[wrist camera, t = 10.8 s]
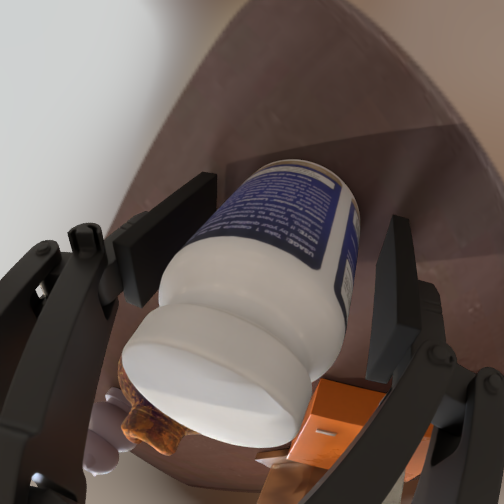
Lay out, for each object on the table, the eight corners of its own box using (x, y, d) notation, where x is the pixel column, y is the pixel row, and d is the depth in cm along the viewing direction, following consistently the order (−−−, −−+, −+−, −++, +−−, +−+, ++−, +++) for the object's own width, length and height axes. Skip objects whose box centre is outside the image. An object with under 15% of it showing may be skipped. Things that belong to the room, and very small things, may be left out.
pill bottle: (218, 207, 16) (82, 356, 8) (299, 129, 12) (157, 269, 5) (297, 285, 17) (223, 461, 9) (386, 228, 13) (373, 446, 6)
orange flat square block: (489, 384, 16) (493, 422, 13) (410, 455, 23) (406, 483, 21) (332, 351, 19) (321, 392, 16) (295, 432, 26) (285, 460, 24)
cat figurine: (102, 373, 35) (50, 442, 26) (155, 406, 34) (106, 483, 25) (107, 397, 40) (65, 456, 31) (153, 425, 40) (113, 489, 30)
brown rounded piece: (240, 376, 24) (201, 455, 18) (228, 429, 31) (201, 485, 25) (116, 320, 26) (66, 379, 20) (135, 386, 33) (102, 434, 27)
